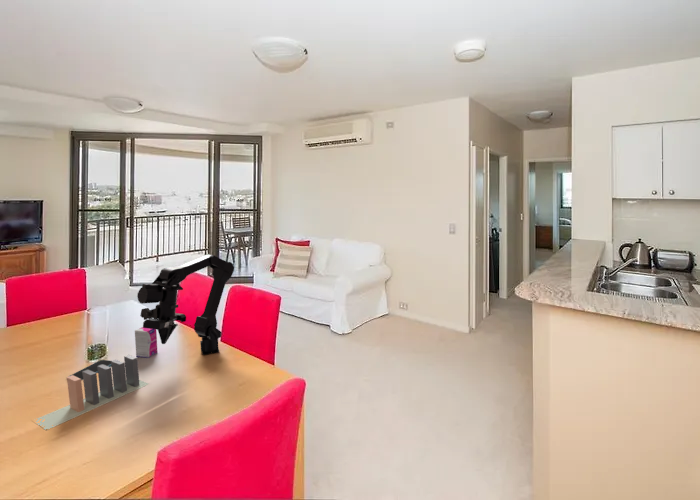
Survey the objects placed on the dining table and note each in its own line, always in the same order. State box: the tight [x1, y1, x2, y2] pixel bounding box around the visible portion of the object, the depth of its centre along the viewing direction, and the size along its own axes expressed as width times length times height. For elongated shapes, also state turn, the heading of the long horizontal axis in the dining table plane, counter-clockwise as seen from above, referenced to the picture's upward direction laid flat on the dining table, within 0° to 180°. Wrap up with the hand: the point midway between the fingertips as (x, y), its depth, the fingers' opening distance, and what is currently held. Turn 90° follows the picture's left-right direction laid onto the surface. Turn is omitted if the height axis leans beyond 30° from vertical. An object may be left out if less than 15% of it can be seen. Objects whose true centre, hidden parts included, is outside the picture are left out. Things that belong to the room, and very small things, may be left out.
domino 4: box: [110, 359, 127, 393], centre depth 125 cm, size 2×5×10 cm, turn 60°
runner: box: [36, 379, 150, 431], centre depth 119 cm, size 30×9×1 cm, turn 150°
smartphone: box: [67, 359, 112, 381], centre depth 140 cm, size 7×1×15 cm
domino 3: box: [97, 364, 114, 399], centre depth 121 cm, size 2×5×10 cm, turn 60°
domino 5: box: [123, 354, 140, 387], centre depth 129 cm, size 2×5×10 cm, turn 60°
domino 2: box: [82, 370, 99, 405], centre depth 118 cm, size 2×5×10 cm, turn 60°
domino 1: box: [66, 374, 84, 412], centre depth 114 cm, size 2×5×10 cm, turn 60°
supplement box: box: [134, 326, 158, 359], centre depth 153 cm, size 6×6×12 cm
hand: (163, 343), depth 139 cm, fingers closed
